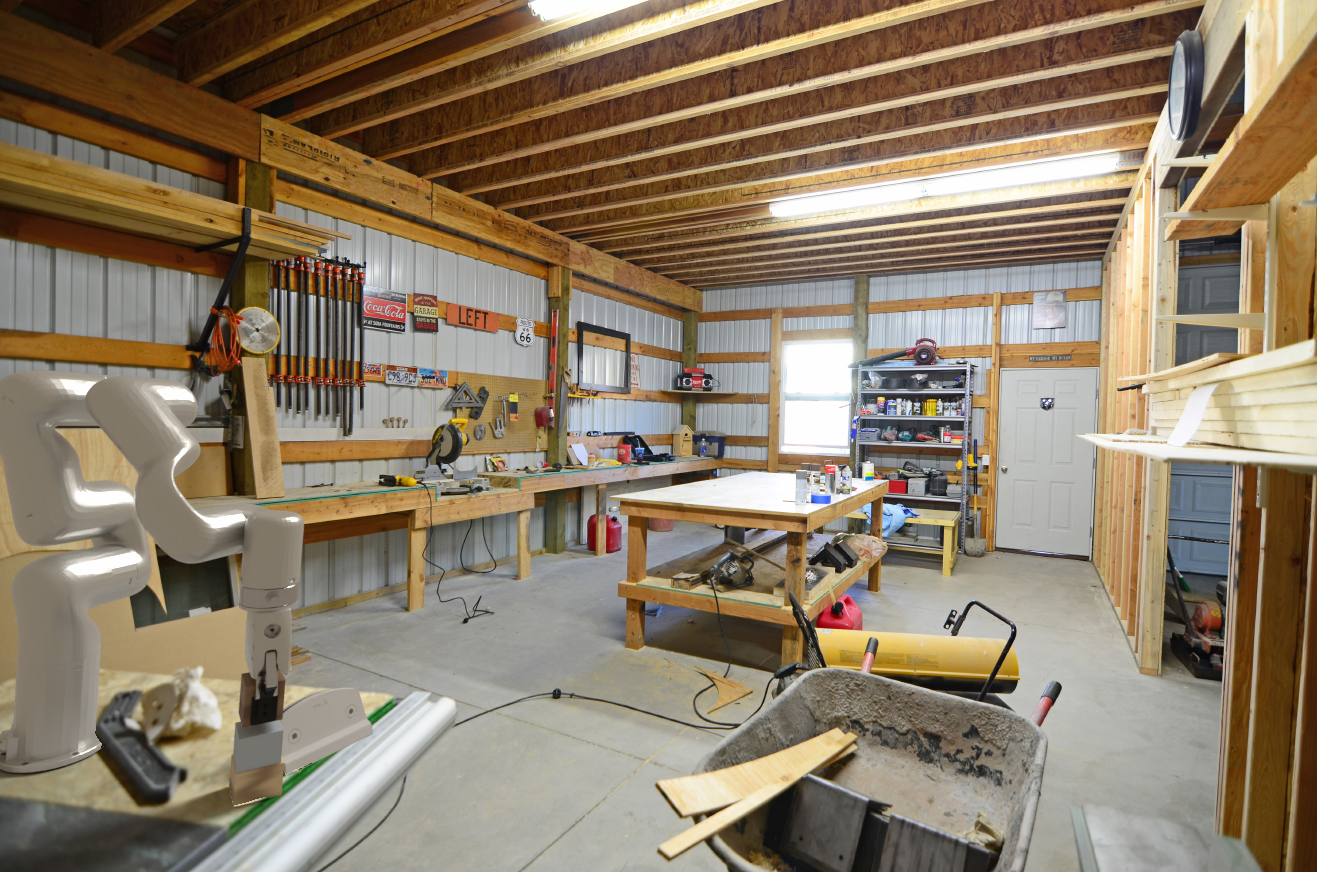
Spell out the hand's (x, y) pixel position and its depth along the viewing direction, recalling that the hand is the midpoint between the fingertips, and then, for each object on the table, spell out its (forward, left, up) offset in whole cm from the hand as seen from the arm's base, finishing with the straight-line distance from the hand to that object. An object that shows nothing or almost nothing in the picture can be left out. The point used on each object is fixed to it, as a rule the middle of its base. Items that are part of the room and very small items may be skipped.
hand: (260, 712), depth 93 cm
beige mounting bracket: (+10, +8, -12) cm, 18 cm away
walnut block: (0, 0, 0) cm, 0 cm away
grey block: (0, 0, -7) cm, 7 cm away
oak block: (0, 0, -12) cm, 12 cm away
